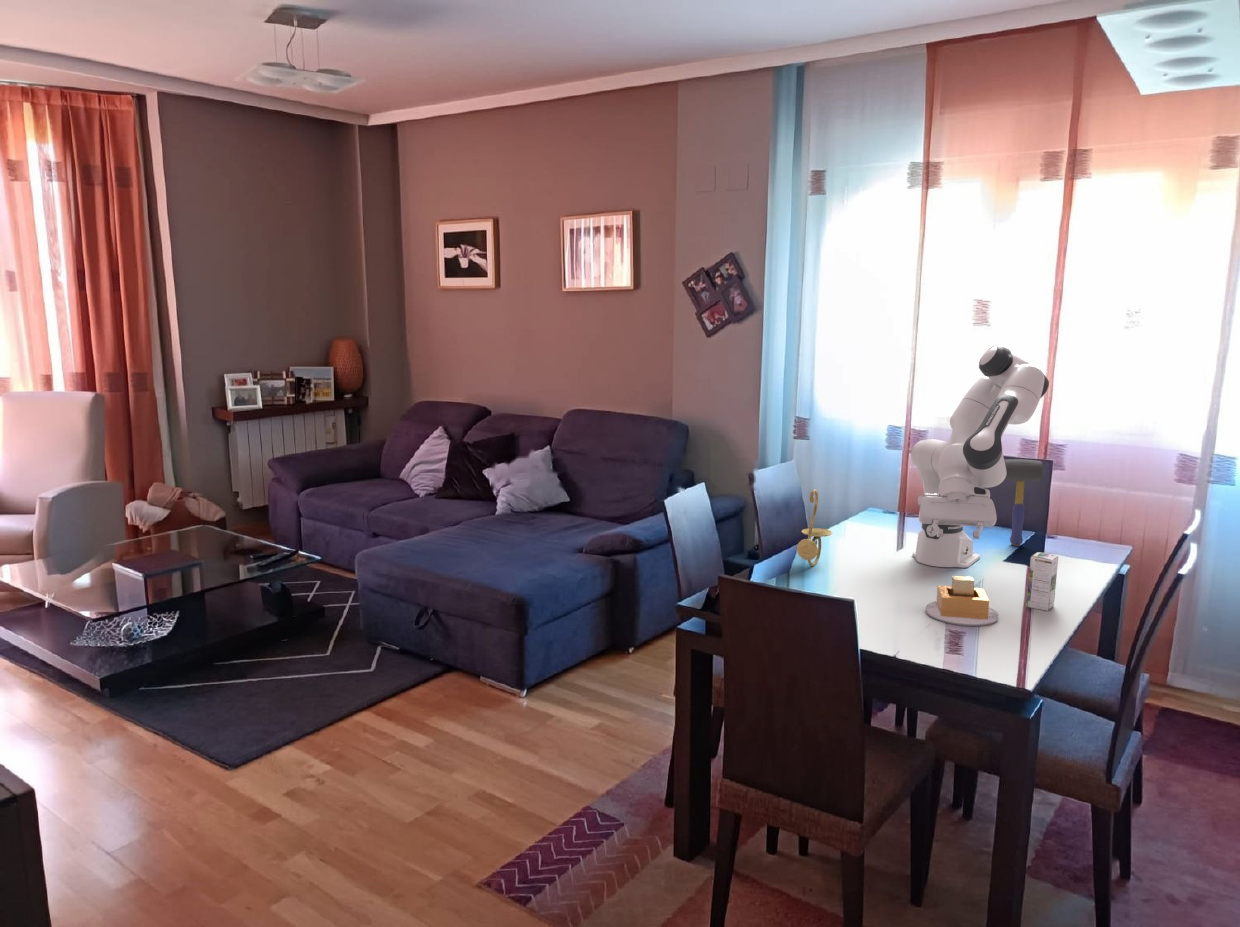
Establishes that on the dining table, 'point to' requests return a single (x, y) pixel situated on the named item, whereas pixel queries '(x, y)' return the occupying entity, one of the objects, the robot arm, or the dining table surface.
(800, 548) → the wall sconce
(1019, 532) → the rubber mallet
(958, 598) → the socket
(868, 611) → the dining table surface
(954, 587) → the wedge
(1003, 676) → the dining table surface
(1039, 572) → the syrup box
